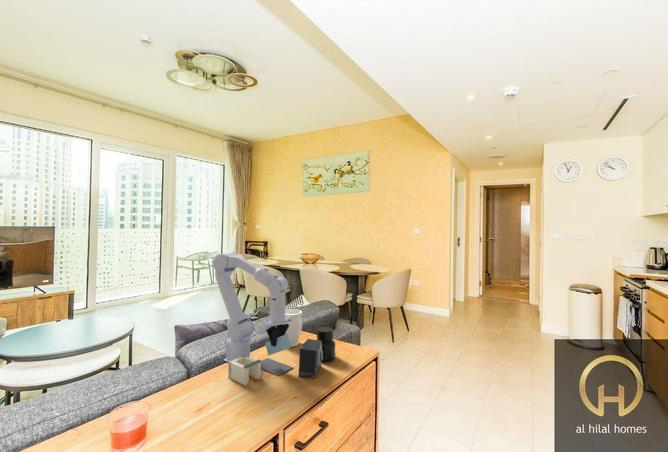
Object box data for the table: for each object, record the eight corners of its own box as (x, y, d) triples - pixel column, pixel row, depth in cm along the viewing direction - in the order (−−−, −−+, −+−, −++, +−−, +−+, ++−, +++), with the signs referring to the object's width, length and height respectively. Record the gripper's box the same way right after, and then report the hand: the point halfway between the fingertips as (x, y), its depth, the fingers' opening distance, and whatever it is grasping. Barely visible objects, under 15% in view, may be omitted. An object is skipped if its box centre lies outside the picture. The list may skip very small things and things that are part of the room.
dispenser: (228, 377, 114) (228, 360, 114) (243, 370, 120) (244, 353, 120) (245, 385, 109) (245, 367, 109) (260, 377, 114) (260, 360, 114)
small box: (315, 379, 114) (315, 350, 114) (297, 377, 115) (298, 348, 115) (322, 366, 124) (322, 339, 124) (306, 364, 126) (306, 338, 126)
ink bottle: (312, 354, 136) (312, 326, 136) (332, 352, 138) (332, 325, 138) (316, 364, 127) (316, 333, 127) (337, 362, 129) (338, 332, 129)
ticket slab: (268, 355, 122) (264, 342, 123) (274, 353, 125) (270, 340, 126) (285, 349, 117) (281, 336, 118) (291, 347, 120) (287, 333, 121)
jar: (275, 347, 143) (276, 313, 143) (282, 339, 153) (283, 307, 153) (298, 349, 141) (298, 315, 141) (304, 340, 152) (304, 309, 151)
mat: (252, 365, 124) (252, 364, 124) (267, 358, 130) (267, 357, 130) (278, 376, 116) (278, 375, 116) (293, 368, 122) (293, 367, 122)
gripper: (271, 314, 113) (270, 352, 114) (298, 306, 125) (297, 341, 125) (257, 311, 117) (256, 348, 118) (284, 304, 129) (284, 337, 129)
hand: (276, 344), depth 122 cm, fingers closed on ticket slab, 3 cm apart
